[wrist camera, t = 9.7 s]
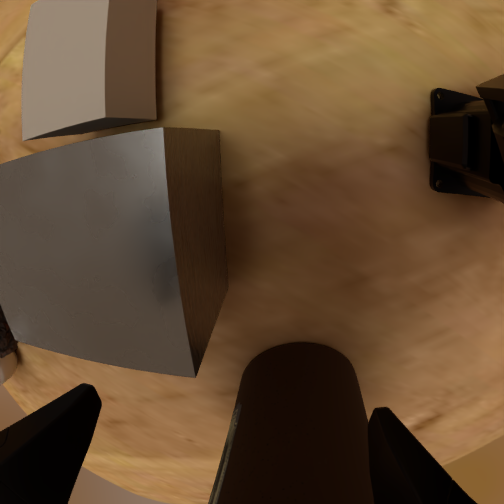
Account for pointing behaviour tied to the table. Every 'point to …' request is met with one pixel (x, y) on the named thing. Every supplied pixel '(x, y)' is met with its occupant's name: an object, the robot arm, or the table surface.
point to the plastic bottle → (7, 367)
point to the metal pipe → (6, 337)
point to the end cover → (88, 66)
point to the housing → (116, 248)
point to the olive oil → (296, 432)
